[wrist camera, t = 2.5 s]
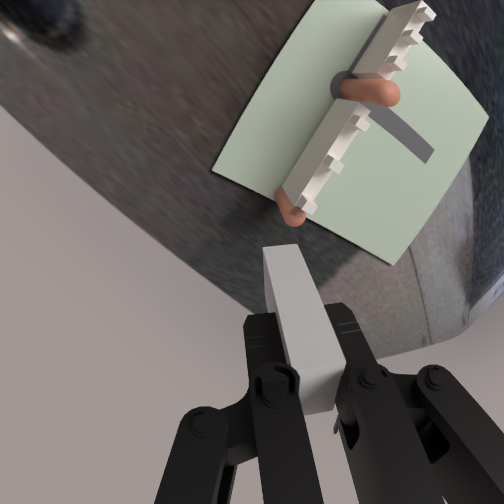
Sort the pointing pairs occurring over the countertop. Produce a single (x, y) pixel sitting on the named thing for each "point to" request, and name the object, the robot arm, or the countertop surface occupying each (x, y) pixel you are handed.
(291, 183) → the swing panel
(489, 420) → the robot arm
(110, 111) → the countertop surface
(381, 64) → the fixed fence
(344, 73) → the card
